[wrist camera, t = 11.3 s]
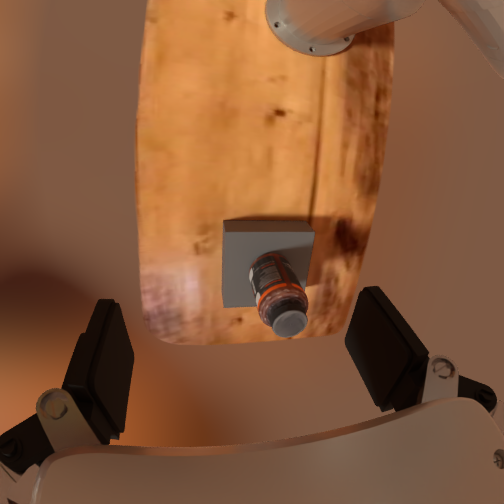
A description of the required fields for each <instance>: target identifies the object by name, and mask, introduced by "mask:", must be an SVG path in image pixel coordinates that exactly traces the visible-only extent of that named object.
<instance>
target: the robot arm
mask: <svg viewBox="0 0 504 504" xmlns="http://www.w3.org/2000/svg"><path fill="white" fill-rule="evenodd" d="M438 1H439V2H440V3H441V4H442V5H443V6H444V7H445V8H446V9H447V10H448V11H449V13H450V14H451V15H452V16H453V17H454V18H455V20H457V22H458V23H459V24H460V26H461V27H462V28H463V30H465V32H466V33H467V35H468V36H469V37H470V39H471V40H472V41H473V43H474V44H475V46H476V47H477V48H478V49H479V51H480V52H481V54H482V55H483V57H484V58H485V59H486V61H487V62H488V64H489V65H490V66H491V67H492V69H493V70H494V71H495V72H496V73H497V74H498V75H499V76H500V77H501V78H502V79H503V80H504V0H438ZM424 2H425V0H267V1H266V5H265V14H266V20H267V22H268V25H269V27H270V29H271V30H272V32H273V34H274V35H275V36H276V37H277V38H278V39H279V40H280V41H281V42H282V43H283V44H285V45H286V46H287V47H289V48H291V49H293V50H294V51H297V52H299V53H302V54H305V55H310V56H329V55H332V54H335V53H338V52H340V51H342V50H343V49H345V48H346V47H347V46H348V45H349V44H350V43H351V42H352V40H353V38H354V36H355V34H357V33H359V32H362V31H365V30H368V29H371V28H374V27H377V26H380V25H383V24H386V23H390V22H393V21H397V20H400V19H403V18H406V17H408V16H411V15H412V14H414V13H415V12H417V11H418V10H419V9H420V8H421V6H422V5H423V4H424ZM274 25H277V26H278V27H277V28H276V27H275V26H274ZM344 39H345V40H344ZM309 49H311V50H312V52H311V51H310V50H309ZM345 345H346V348H347V350H348V351H349V354H350V355H351V357H352V359H353V361H354V363H355V365H356V367H357V369H358V371H359V373H360V375H361V377H362V379H363V381H364V383H365V385H366V387H367V389H368V391H369V393H370V395H371V397H372V399H373V401H374V403H375V405H376V406H379V407H380V409H381V411H382V412H384V411H388V410H391V409H393V408H394V409H395V411H396V412H395V413H392V414H388V415H385V416H382V417H379V418H375V419H372V420H369V421H365V422H362V423H358V424H354V425H350V426H346V427H342V428H338V429H334V430H330V431H325V432H321V433H316V434H311V435H305V436H300V437H294V438H289V439H282V440H275V441H268V442H260V443H251V444H241V445H230V446H213V447H141V446H120V445H109V444H110V439H117V440H119V435H120V433H123V432H124V429H125V420H126V412H127V404H128V396H129V390H130V383H131V377H132V370H133V364H134V352H133V349H132V346H131V342H130V339H129V336H128V333H127V329H126V326H125V322H124V319H123V316H122V312H121V308H120V305H119V303H115V301H114V299H99V300H98V302H97V304H96V306H95V309H94V312H93V314H92V316H91V319H90V322H89V324H88V327H87V330H86V332H85V333H82V334H81V335H80V336H79V339H78V341H77V344H76V347H75V349H74V352H73V355H72V358H71V361H70V363H69V366H68V369H67V372H66V375H65V379H64V382H63V385H62V388H61V389H59V388H54V389H53V388H52V389H49V390H47V391H45V392H44V393H42V395H41V396H40V397H39V398H38V401H37V403H36V411H37V413H36V414H34V415H32V416H31V417H29V418H28V419H26V420H25V421H23V422H21V423H19V424H18V425H16V426H15V427H13V428H11V429H10V430H8V431H6V432H5V433H3V434H2V435H1V436H0V504H30V503H31V504H504V403H503V402H502V401H501V400H499V401H498V402H497V397H496V395H495V393H494V391H493V390H492V389H491V388H490V387H489V386H487V385H485V384H482V383H479V382H476V381H474V380H471V379H468V378H465V377H463V376H460V375H459V372H458V367H457V365H456V364H455V363H454V362H453V360H451V359H450V358H449V357H446V356H444V355H435V356H433V357H431V358H429V357H428V354H429V352H428V350H427V349H426V347H425V346H424V345H423V343H422V342H421V341H420V339H419V338H418V337H417V335H416V334H415V333H414V331H413V330H412V329H411V327H410V326H409V325H408V323H407V322H406V321H405V319H404V318H403V317H402V315H401V314H400V313H399V311H398V310H397V309H396V308H395V306H394V305H393V304H392V303H391V301H390V300H389V299H388V297H387V296H386V295H385V294H384V292H383V291H382V290H381V289H380V288H379V287H378V286H370V287H365V288H364V289H363V290H362V291H360V293H359V296H358V299H357V302H356V306H355V309H354V312H353V315H352V319H351V321H350V325H349V328H348V331H347V334H346V337H345Z"/></svg>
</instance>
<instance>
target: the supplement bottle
mask: <svg viewBox="0 0 504 504" xmlns="http://www.w3.org/2000/svg"><path fill="white" fill-rule="evenodd" d="M249 280H250V284H251V287H252V291H253V294H254V298H255V302H256V305H257V309H258V312H259V315H260V318H261V320H262V321H263V322H264V323H265V324H266V325H268V326H270V327H272V329H273V331H274V333H275V334H276V335H278V336H280V337H292V336H295V335H297V334H299V333H300V332H301V331H303V329H304V328H305V327H306V325H307V321H308V319H307V316H306V312H307V310H308V299H307V296H306V294H305V292H304V290H303V288H302V286H301V284H300V282H299V280H298V278H297V276H296V274H295V272H294V270H293V269H292V267H291V265H290V263H289V262H288V260H287V259H286V258H285V257H284V256H282V255H279V254H275V253H268V254H264V255H262V256H260V257H258V258H257V259H256V260H255V261H254V262H253V263H252V265H251V267H250V269H249Z"/></svg>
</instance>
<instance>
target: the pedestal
mask: <svg viewBox="0 0 504 504" xmlns="http://www.w3.org/2000/svg"><path fill="white" fill-rule="evenodd" d="M314 236H315V231H314V230H313V229H312V228H311V227H310V225H309V224H308V223H307V222H306V221H265V220H223V248H222V298H223V305H224V308H231V307H255V306H257V305H256V302H255V298H254V294H253V291H252V287H251V284H250V280H249V269H250V267H251V265H252V263H253V262H254V261H255V260H256V259H257V258H258V257H260V256H262V255H264V254H268V253H275V254H279V255H282V256H284V257H285V258H286V259H287V260H288V262H289V263H290V265H291V267H292V269H293V270H294V272H295V274H296V276H297V278H298V280H299V282H300V284H301V286H302V288H303V290H304V292H305V287H306V281H307V276H308V271H309V265H310V259H311V254H312V248H313V242H314Z"/></svg>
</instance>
